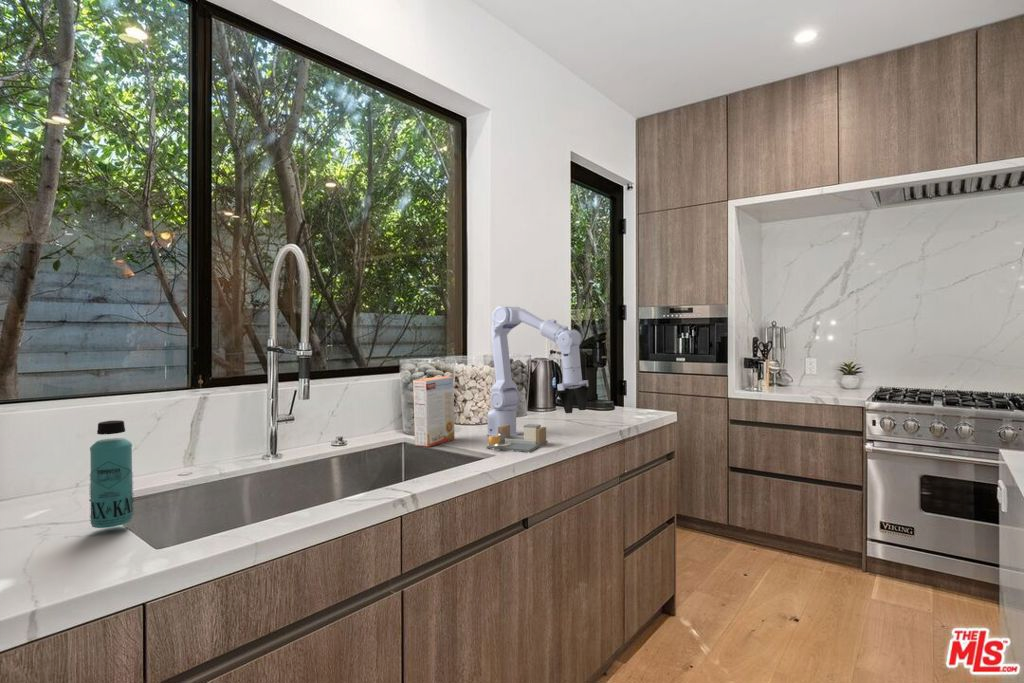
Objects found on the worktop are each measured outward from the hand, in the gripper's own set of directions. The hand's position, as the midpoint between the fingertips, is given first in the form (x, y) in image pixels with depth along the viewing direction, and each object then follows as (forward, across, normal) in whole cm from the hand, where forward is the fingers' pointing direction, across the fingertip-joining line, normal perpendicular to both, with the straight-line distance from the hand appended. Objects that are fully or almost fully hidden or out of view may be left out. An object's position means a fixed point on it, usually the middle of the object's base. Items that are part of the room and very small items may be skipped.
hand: (575, 411), depth 174 cm
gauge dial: (+9, -17, +17) cm, 26 cm away
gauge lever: (+7, -21, +16) cm, 27 cm away
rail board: (+9, -13, +14) cm, 21 cm away
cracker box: (+7, -25, +39) cm, 46 cm away
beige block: (+8, -8, +12) cm, 16 cm away
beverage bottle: (+8, -115, +26) cm, 118 cm away
